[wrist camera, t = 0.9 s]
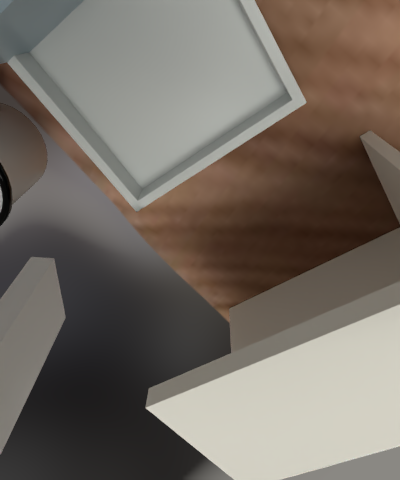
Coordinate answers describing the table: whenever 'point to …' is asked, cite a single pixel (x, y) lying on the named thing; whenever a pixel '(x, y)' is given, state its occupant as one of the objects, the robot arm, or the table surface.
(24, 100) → the table surface
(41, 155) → the mug
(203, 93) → the tray
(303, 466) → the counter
